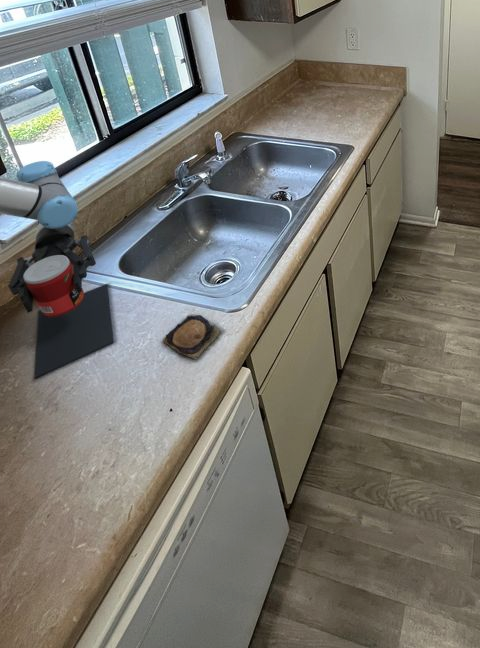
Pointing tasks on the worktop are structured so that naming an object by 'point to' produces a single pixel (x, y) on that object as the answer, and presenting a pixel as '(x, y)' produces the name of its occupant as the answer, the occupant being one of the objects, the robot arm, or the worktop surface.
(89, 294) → the mat
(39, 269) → the canned food
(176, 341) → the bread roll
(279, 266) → the worktop surface
